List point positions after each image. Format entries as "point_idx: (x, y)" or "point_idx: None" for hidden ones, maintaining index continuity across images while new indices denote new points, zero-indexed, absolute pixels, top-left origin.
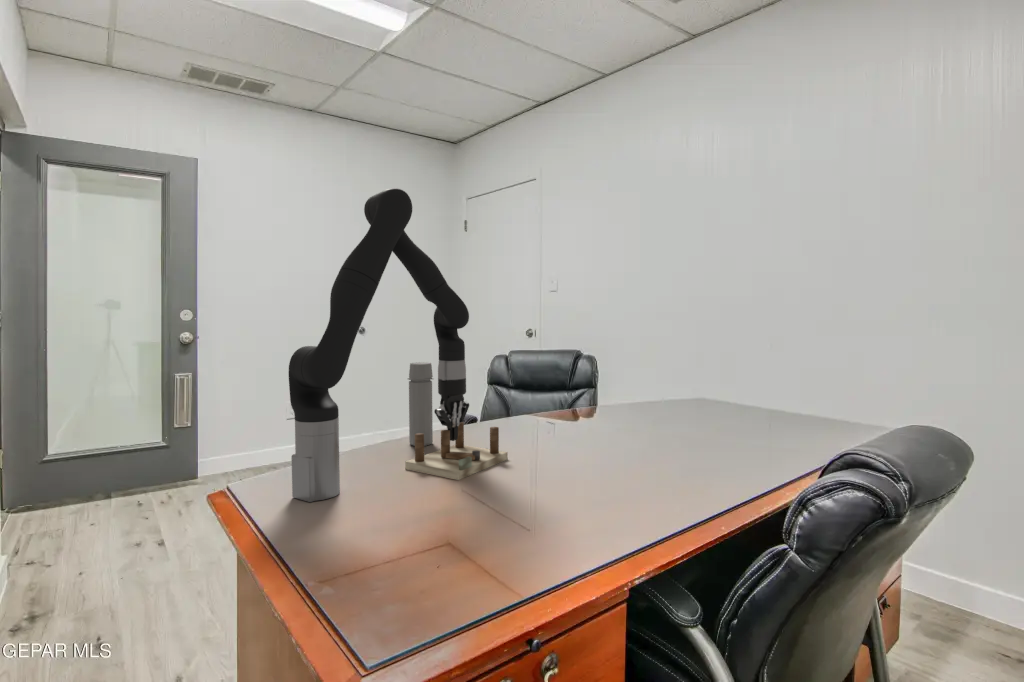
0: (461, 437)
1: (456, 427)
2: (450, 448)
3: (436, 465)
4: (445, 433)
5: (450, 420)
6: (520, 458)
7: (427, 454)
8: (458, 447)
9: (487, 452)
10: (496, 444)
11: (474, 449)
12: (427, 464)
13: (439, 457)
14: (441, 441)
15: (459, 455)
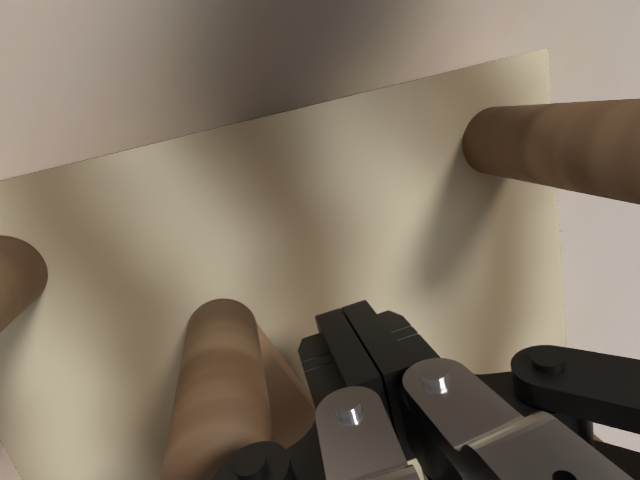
0: (537, 183)
1: (410, 454)
2: (418, 126)
3: (55, 446)
4: None
5: (431, 429)
6: (593, 431)
7: (167, 149)
8: (468, 160)
9: None
10: None
11: (506, 270)
12: (9, 392)
13: (193, 290)
14: (173, 405)
15: None
